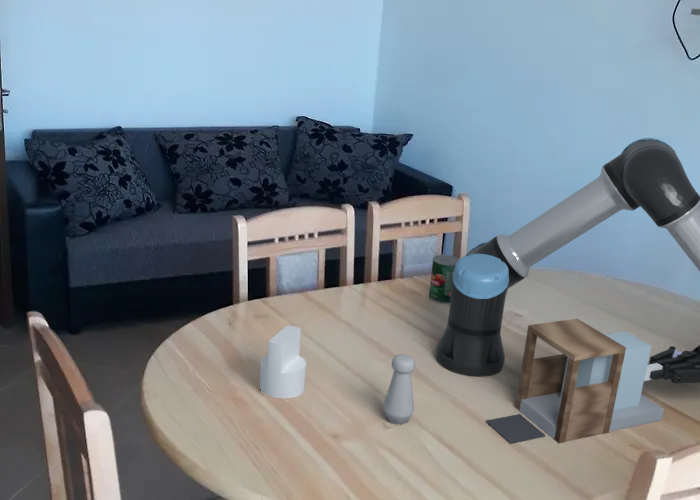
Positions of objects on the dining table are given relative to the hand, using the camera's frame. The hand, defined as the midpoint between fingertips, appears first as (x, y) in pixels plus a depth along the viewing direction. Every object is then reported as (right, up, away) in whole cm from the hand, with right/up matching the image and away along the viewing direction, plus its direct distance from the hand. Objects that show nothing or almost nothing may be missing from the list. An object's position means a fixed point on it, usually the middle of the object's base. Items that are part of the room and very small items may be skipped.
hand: (634, 374), depth 156 cm
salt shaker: (-48, -7, -8) cm, 49 cm away
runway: (-9, -8, -1) cm, 12 cm away
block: (-7, -5, -1) cm, 9 cm away
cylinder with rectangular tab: (-71, -3, 0) cm, 71 cm away
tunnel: (-16, -8, -3) cm, 18 cm away
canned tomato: (-32, +12, +54) cm, 63 cm away
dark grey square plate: (-26, -9, -8) cm, 28 cm away
